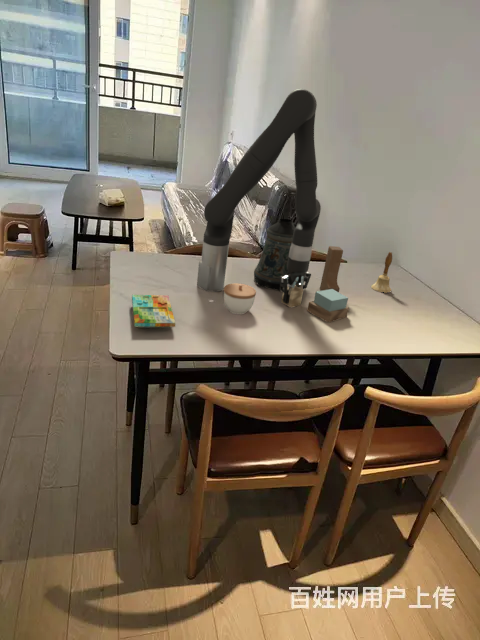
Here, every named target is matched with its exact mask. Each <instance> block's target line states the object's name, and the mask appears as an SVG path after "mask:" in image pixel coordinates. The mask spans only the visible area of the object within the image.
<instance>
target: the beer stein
mask: <svg viewBox="0 0 480 640" xmlns="http://www.w3.org/2000/svg"><path fill="white" fill-rule="evenodd" d="M296 226H297V223H296V222H293V221H292V219H289V218H279V220H278V221H277V222H276V223H273V224H272V225H270V226H269V227H268V228H266V236H267V237H266V240H265V243H264V247H263V249H262V253H261V255H260V258H259V261H258V263H257V265H256V266H255V268H254V270H253V276H254V278H253V279H254V283H256V284H257V285H258V286H261V287H263V288H264V289H265V288H266V289H271V290H275V291H276V290H278V291H280V277H281V276H283V277H284V276H286V274H287V272H288V269H287V262H288V257H289V251H290V247H291V244H292V239H293V233H294V230H295V228H296ZM289 285H292V284H290V283H289ZM283 289H284V287H283Z"/></svg>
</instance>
